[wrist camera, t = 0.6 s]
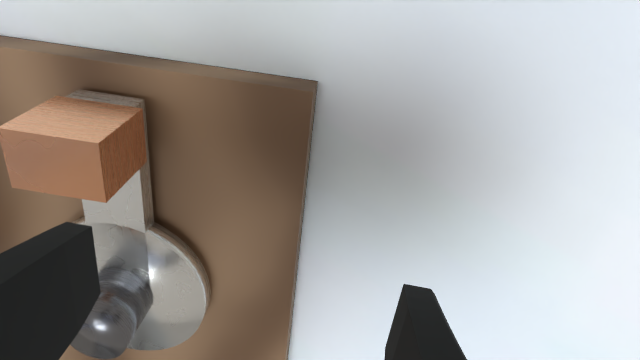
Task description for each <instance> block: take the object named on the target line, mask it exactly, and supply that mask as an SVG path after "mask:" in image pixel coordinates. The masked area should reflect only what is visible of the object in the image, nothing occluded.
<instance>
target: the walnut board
mask: <svg viewBox="0 0 640 360" xmlns="http://www.w3.org/2000/svg"><path fill="white" fill-rule="evenodd" d="M317 84H318V81H312V80H305V79H298V78H291V77H284V76H277V75H270V74H263V73H256V72H249V71H242V70H236V69H229V68H222V67H215V66H208V65H201V64H194V63H187V62H180V61H173V60H166V59H159V58H152V57H145V56H138V55H131V54H124V53H117V52H110V51H103V50H96V49H89V48H82V47H76V46H69V45H62V44H55V43H48V42H41V41H34V40H27V39H20V38H13V37H6V36H0V126H1V125H3V124H5V123H7V122H8V121H10V120H12V119H14V118H16V117H18V116H20V115H21V114H23V113H25V112H27V111H29V110H31V109H32V108H34V107H36V106H38V105H40V104H42V103H44V102H45V101H47V100H49V99H51V98H53V97H55V96H62V97H66V96H67V95H69V94H71V93H73V92H74V91H76V90H78V89H79V90H86V91H92V92H99V93H106V94H112V95H119V96H126V97H133V98H139V99H144V100H145V113H146V126H147V138H148V151H149V163H150V176H151V188H152V201H153V214H154V222H155V223H157V224H159V225H161V226H162V227H164V228H166V229H168V230H169V231H171V232H172V233H174V234H175V235H176V236H178V237H179V238H180V239H181V240H182V241H184V242H185V243H186V244H187V245H188V246H189V247H190V248H191V250H192V251H193V252H194V253H195V254H196V256H197V257H198V258H199V260H200V262H201V263H202V265H203V267H204V269H205V271H206V274H207V276H208V280H209V284H210V302H209V306H208V309H207V311H206V313H205V315H204V317H203V320H202V322H201V324H200V326H199V328H198V329H197V331H196V332H195V333H194V334H193V335H192V336H191V337H190V338H189V339H187V340H186V341H184V342H183V343H181V344H179V345H177V346H174V347H171V348H167V349H162V350H151V351H149V350H135V349H129V348H126V349H125V351H124V352H123V353H122V354H121V355H120V356H118V357H116V358H113V359H97V358H93V357H90V356H87V355H85V354H83V353H81V352H79V351H77V350H76V349H74V348H73V347H72V346H71V345H69V346H68V348H67V349H66V351H65V352H64V353H63V355H62V356H61V357H60V359H59V360H288V352H289V342H290V333H291V324H292V315H293V305H294V296H295V287H296V278H297V269H298V259H299V250H300V241H301V232H302V222H303V213H304V204H305V195H306V185H307V176H308V167H309V158H310V148H311V139H312V130H313V121H314V111H315V102H316V93H317ZM83 216H85V215H84V209H83V203H82V199H78V198H72V197H66V196H60V195H54V194H48V193H41V192H35V191H29V190H23V189H17V188H12V186H11V182H10V178H9V174H8V170H7V166H6V162H5V158H4V154H3V150H2V146H1V142H0V253H2V252H4V251H6V250H8V249H10V248H12V247H14V246H16V245H18V244H20V243H22V242H24V241H26V240H28V239H30V238H32V237H34V236H37V235H39V234H41V233H43V232H45V231H47V230H49V229H51V228H53V227H55V226H58V225H60V224H62V223H65V222H71V223H72V222H74V221H75V220H77V219H79V218H81V217H83Z"/></svg>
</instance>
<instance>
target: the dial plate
mask: <svg viewBox="0 0 640 360" xmlns="http://www.w3.org/2000/svg"><path fill="white" fill-rule="evenodd" d="M0 142H1V146H2V150H3V154H4V158H5V162H6V166H7V170H8V174H9V178H10V182H11V186H12V188H17V189H23V190H29V191H35V192H41V193H48V194H54V195H60V196H66V197H72V198H78V199H82V203H83V209H84V215H85V216H83V217H81V218H79V219H77V220H75V221H74V222H72V223H76V224H82V225H87V226H92V231H93V238H94V246H95V253H96V261H97V268H98V276H99V283H100V291H101V294H100V295H99V297H98V299H97V301H96V303H95V305H94V306H93V308H92V310H91V312H90V314H89V316H88V317H87V319H86V321H85V323H84V324H83V326H82V328H81V329H80V331H79V333H78V334H77V335H76V337H75V338H74V340H73V341H72V342H71V344H70V345H71V346H72V347H73V348H74V349H76V350H77V351H79V352H81V353H83V354H85V355H87V356H90V357H93V358H97V359H113V358H116V357H118V356H120V355H121V354H122V353H123V352H124V351H125V349H126V348H129V349H135V350H149V351H151V350H162V349H167V348H171V347H174V346H177V345H179V344H181V343H183V342H184V341H186V340H187V339H189V338H190V337H191V336H192V335H193V334H194V333H195V332H196V331H197V329H198V328H199V326H200V324H201V322H202V320H203V317H204V315H205V313H206V311H207V309H208V306H209V302H210V284H209V280H208V276H207V274H206V271H205V269H204V267H203V265H202V263H201V262H200V260H199V258H198V257H197V256H196V254H195V253H194V252H193V251H192V250H191V248H190V247H189V246H188V245H187V244H186V243H185V242H184V241H182V240H181V239H180V238H179V237H178V236H176V235H175V234H174V233H172V232H171V231H169V230H168V229H166V228H164V227H162V226H161V225H159V224H157V223H155V222H154V214H153V201H152V188H151V176H150V163H149V151H148V138H147V126H146V113H145V100H144V99H139V98H133V97H126V96H119V95H112V94H106V93H99V92H92V91H86V90H79V89H78V90H76V91H74V92H73V93H71V94H69V95H67V96H66V97H62V96H55V97H53V98H51V99H49V100H47V101H45V102H44V103H42V104H40V105H38V106H36V107H34V108H32V109H31V110H29V111H27V112H25V113H23V114H21V115H20V116H18V117H16V118H14V119H12V120H10V121H8V122H7V123H5V124H3V125H1V126H0Z"/></svg>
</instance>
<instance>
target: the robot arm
mask: <svg viewBox="0 0 640 360" xmlns="http://www.w3.org/2000/svg"><path fill="white" fill-rule="evenodd" d="M100 294H101V291H100V283H99V276H98V268H97V261H96V253H95V246H94V238H93V231H92V226H87V225H82V224H76V223H71V222H65V223H62V224H60V225H58V226H55V227H53V228H51V229H49V230H47V231H45V232H43V233H41V234H39V235H37V236H34V237H32V238H30V239H28V240H26V241H24V242H22V243H20V244H18V245H16V246H14V247H12V248H10V249H8V250H6V251H4V252H2V253H0V360H59V359H60V357H61V356H62V355H63V353H64V352H65V351H66V349H67V348H68V346H69V345H70V344H71V342H72V341H73V340H74V338H75V337H76V335H77V334H78V333H79V331H80V329H81V328H82V326H83V324H84V323H85V321H86V319H87V317H88V316H89V314H90V312H91V310H92V308H93V306H94V305H95V303H96V301H97V299H98V297H99V295H100ZM385 360H467V359H466V357H465V355H464V353H463V352H462V350H461V348H460V346H459V344H458V342H457V340H456V338H455V336H454V334H453V332H452V330H451V328H450V326H449V324H448V322H447V320H446V318H445V316H444V314H443V312H442V309H441V307H440V305H439V303H438V301H437V298H436V296H435V294H434V293H433V291H432V290H431V289H428V288H423V287H417V286H412V285H406V284H404V285H403V288H402V292H401V295H400V299H399V302H398V306H397V309H396V312H395V316H394V319H393V323H392V326H391V330H390V333H389V337H388V340H387V344H386V347H385Z"/></svg>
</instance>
